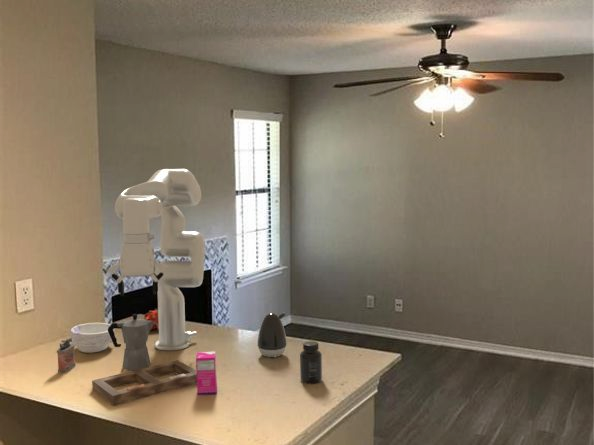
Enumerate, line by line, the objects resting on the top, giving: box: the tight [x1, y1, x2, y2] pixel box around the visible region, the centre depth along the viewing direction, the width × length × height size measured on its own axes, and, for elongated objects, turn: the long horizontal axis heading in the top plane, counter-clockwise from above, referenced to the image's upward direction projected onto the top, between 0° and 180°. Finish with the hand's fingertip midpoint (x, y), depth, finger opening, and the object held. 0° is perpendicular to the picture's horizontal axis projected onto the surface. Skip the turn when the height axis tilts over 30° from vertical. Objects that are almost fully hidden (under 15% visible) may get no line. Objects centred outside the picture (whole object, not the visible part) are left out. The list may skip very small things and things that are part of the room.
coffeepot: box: [108, 313, 155, 372], centre depth 217 cm, size 15×9×18 cm, turn 110°
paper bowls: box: [70, 322, 115, 354], centre depth 237 cm, size 15×15×8 cm
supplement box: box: [195, 351, 218, 396], centre depth 196 cm, size 6×6×12 cm
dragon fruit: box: [143, 308, 159, 331], centre depth 262 cm, size 8×8×12 cm
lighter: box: [56, 337, 76, 374], centre depth 216 cm, size 8×3×10 cm, turn 168°
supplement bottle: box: [299, 340, 323, 384], centre depth 205 cm, size 7×7×12 cm
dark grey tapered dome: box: [257, 312, 287, 358], centre depth 229 cm, size 10×10×15 cm
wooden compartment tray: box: [91, 359, 197, 407], centre depth 201 cm, size 29×16×3 cm, turn 129°
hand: (138, 294), depth 199 cm, fingers open, 9 cm apart
